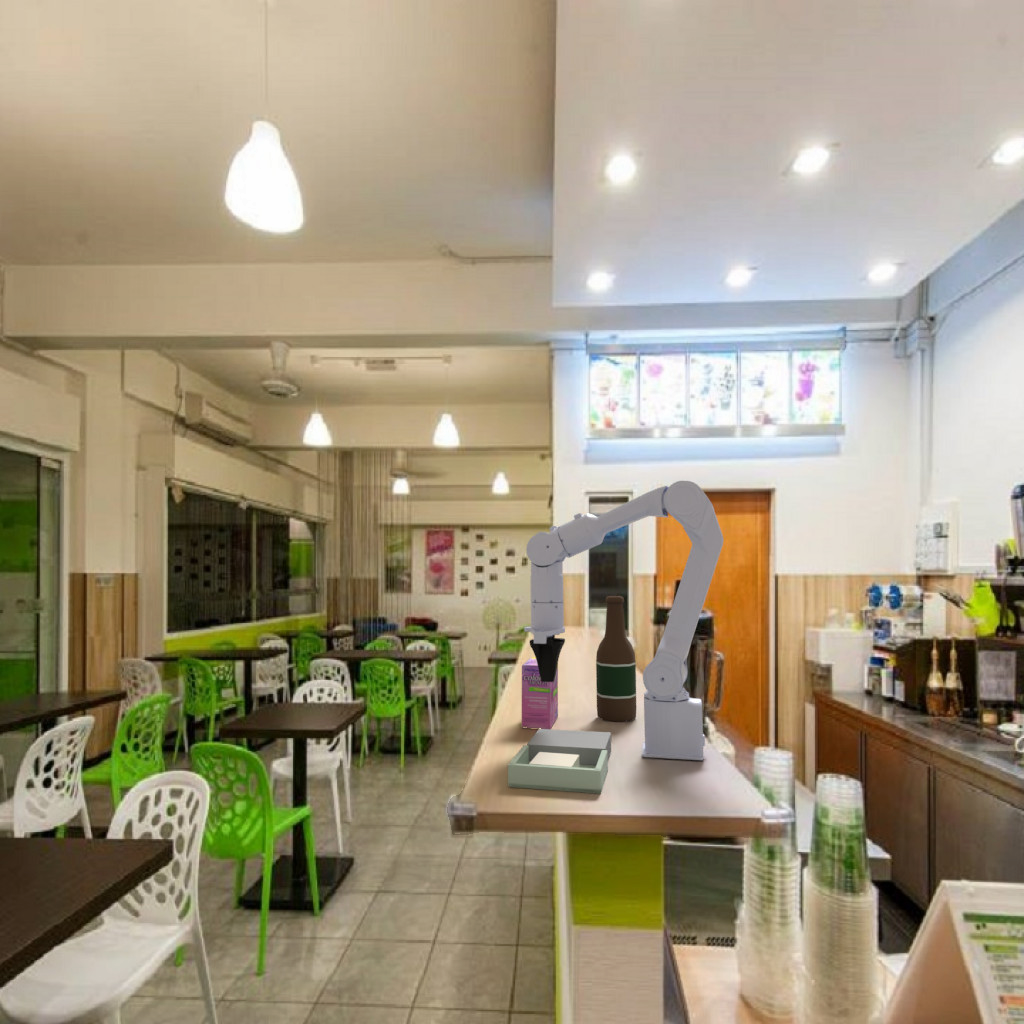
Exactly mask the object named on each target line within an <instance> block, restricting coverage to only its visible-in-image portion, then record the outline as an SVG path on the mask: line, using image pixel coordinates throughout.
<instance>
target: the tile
mask: <svg viewBox="0 0 1024 1024" xmlns="http://www.w3.org/2000/svg"><path fill="white" fill-rule="evenodd" d="M529 764H531V765H547V766H562V767H578V768H580V761H579V755H575V754H561V753H548V752H539V753H538V754H537V755H536V756H535V757H534V759H533V760H532V761H531V762H530V763H529Z"/></svg>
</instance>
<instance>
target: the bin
mask: <svg viewBox="0 0 1024 1024" xmlns="http://www.w3.org/2000/svg"><path fill="white" fill-rule="evenodd" d="M529 763H530V762H529V746H527V744H525V745H522V747H520V749H519V750H518V752H517V753H516V754H515V755H514V757H513V758H512V759H511V761H509V763H508V764H507V787H508V788H518V789H519V788H520V789H534V790H545V791H560V792H561V791H562V792H570V793H571V792H573V793H587V794H598V795H599V794H602V791H603V788H604V784H605V781H606V777H607V774H608V772H609V766H608V763H609V760H608V752H607V750H602V751H601V754H600V757H599V760H598V762H597V765H596V766H591V765H580V768H578V767H562V766H547V765H531V764H529Z"/></svg>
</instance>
